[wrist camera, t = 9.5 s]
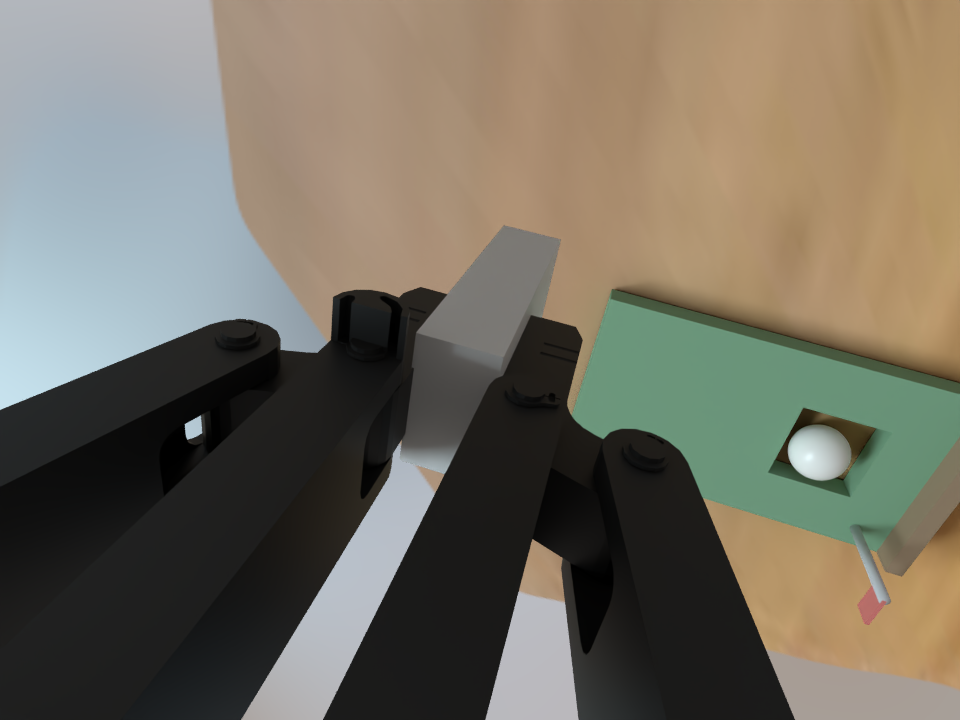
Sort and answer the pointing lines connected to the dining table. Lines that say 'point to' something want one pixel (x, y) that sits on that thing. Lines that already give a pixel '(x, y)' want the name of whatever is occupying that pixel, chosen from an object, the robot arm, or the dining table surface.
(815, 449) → the ball
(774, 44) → the dining table surface
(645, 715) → the robot arm
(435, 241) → the dining table surface
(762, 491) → the green
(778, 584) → the dining table surface
